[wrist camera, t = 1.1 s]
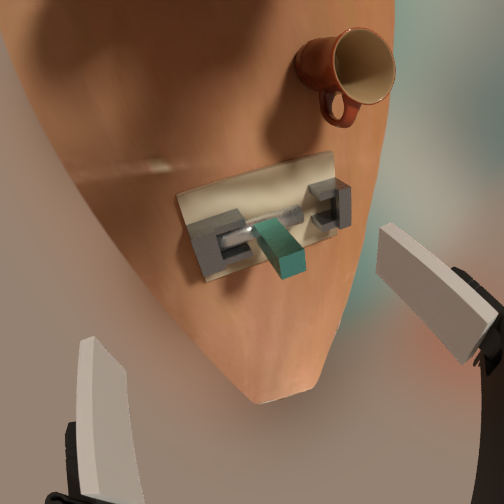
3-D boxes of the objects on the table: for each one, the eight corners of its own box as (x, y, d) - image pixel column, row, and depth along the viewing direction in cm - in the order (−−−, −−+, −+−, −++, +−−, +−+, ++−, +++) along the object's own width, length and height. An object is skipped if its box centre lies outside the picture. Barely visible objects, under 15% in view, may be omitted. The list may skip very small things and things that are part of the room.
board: (175, 194, 35) (176, 197, 35) (329, 150, 39) (333, 152, 38) (205, 278, 44) (206, 282, 43) (333, 231, 47) (337, 234, 46)
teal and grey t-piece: (189, 234, 38) (205, 285, 29) (293, 200, 40) (336, 237, 32) (195, 252, 39) (212, 305, 31) (296, 218, 42) (336, 258, 33)
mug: (293, 27, 28) (340, 14, 20) (348, 48, 31) (401, 47, 23) (275, 111, 34) (317, 122, 25) (331, 124, 37) (380, 140, 29)
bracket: (186, 225, 37) (190, 240, 34) (237, 208, 38) (246, 221, 35) (198, 260, 40) (204, 277, 37) (245, 243, 41) (255, 259, 38)
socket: (308, 184, 40) (322, 195, 36) (334, 177, 40) (350, 186, 37) (311, 222, 43) (325, 235, 40) (336, 213, 44) (351, 225, 41)
